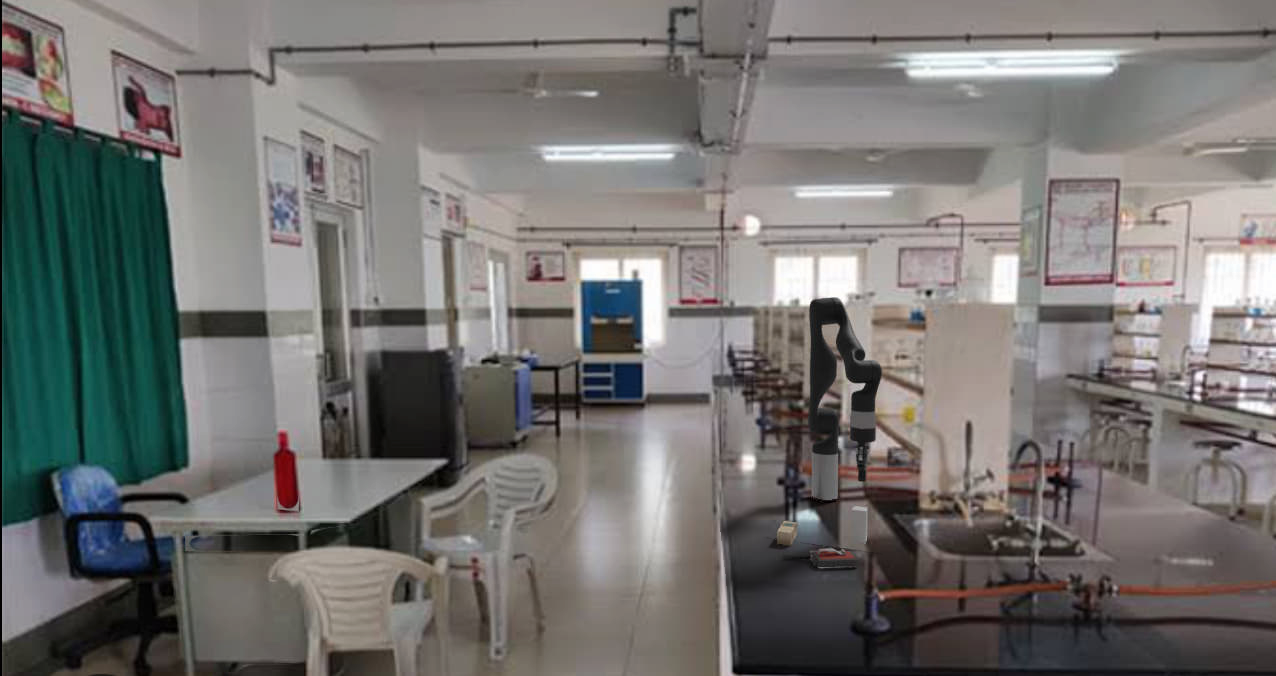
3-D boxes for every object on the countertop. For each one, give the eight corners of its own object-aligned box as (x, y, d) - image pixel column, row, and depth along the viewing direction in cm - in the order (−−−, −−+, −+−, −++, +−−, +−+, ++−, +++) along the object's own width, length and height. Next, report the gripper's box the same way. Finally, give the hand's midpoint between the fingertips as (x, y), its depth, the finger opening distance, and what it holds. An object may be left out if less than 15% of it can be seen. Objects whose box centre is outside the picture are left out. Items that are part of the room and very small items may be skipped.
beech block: (784, 520, 202) (777, 530, 193) (797, 522, 200) (790, 532, 191) (783, 533, 202) (777, 544, 193) (797, 535, 200) (790, 546, 191)
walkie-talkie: (851, 557, 185) (781, 559, 183) (851, 541, 185) (781, 543, 183) (864, 569, 176) (791, 571, 175) (864, 553, 176) (791, 555, 174)
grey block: (853, 538, 198) (853, 505, 197) (867, 540, 196) (867, 507, 196) (851, 542, 194) (852, 509, 193) (865, 544, 192) (866, 511, 192)
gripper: (852, 421, 208) (851, 475, 209) (847, 427, 196) (846, 484, 197) (877, 422, 205) (876, 477, 206) (874, 429, 193) (873, 487, 194)
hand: (862, 481), depth 201 cm, fingers closed
